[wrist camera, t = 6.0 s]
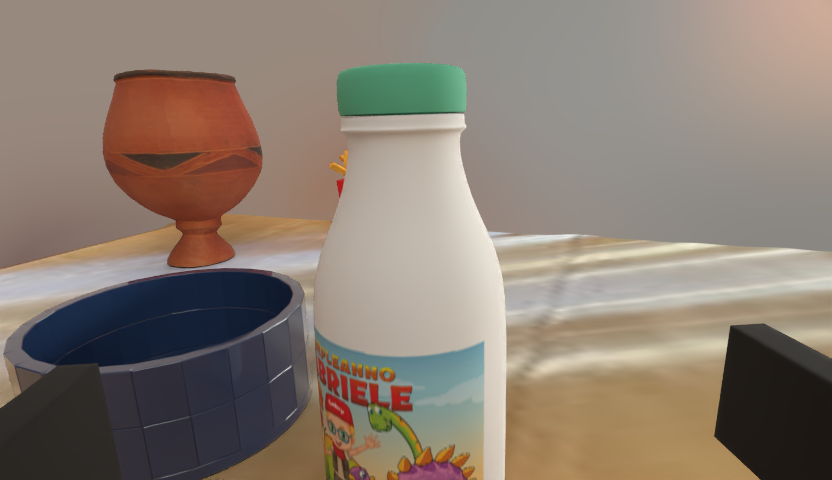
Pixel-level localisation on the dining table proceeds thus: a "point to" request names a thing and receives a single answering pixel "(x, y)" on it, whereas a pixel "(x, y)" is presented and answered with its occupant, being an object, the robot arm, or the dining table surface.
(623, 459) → the dining table surface
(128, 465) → the pot
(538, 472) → the dining table surface
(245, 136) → the goblet
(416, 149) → the milk bottle
